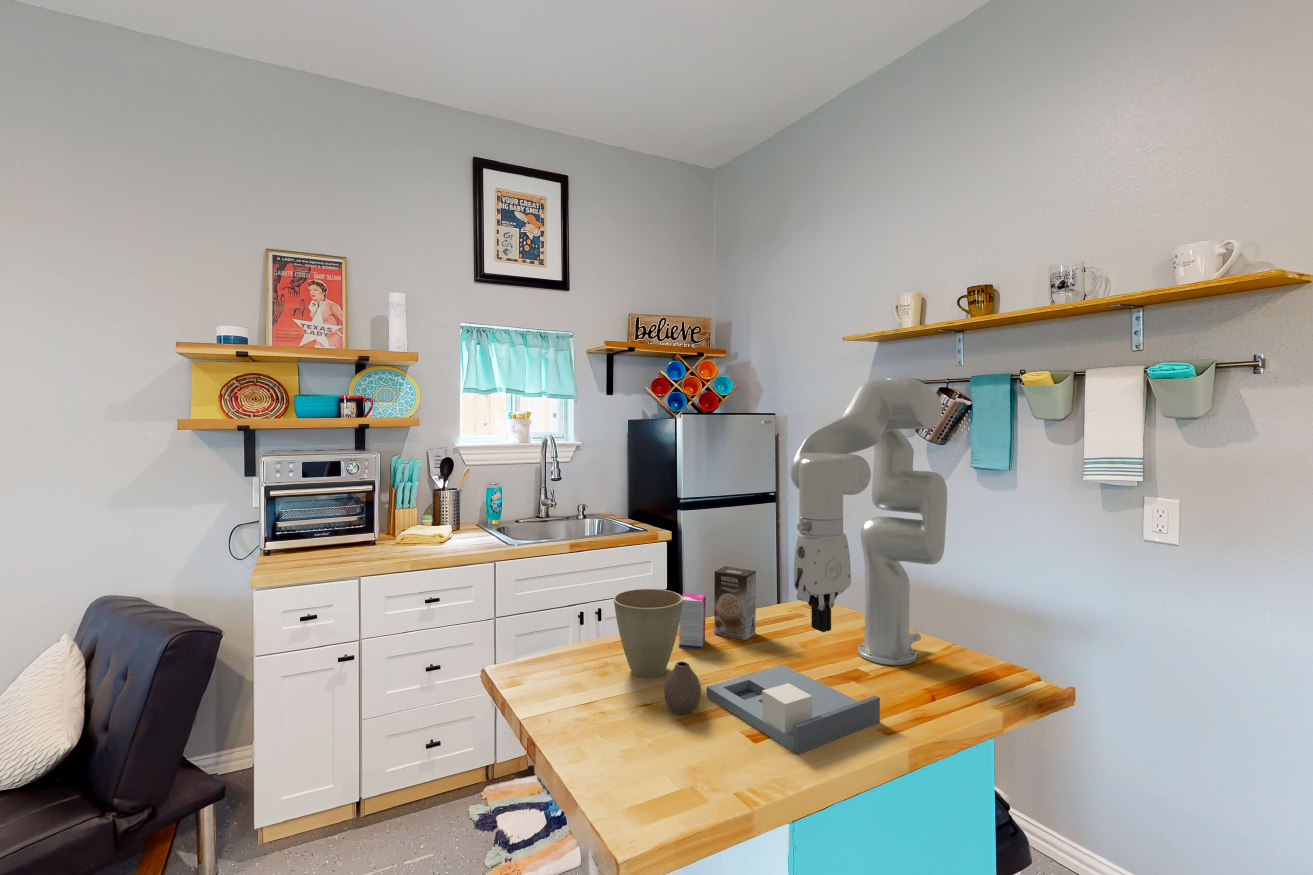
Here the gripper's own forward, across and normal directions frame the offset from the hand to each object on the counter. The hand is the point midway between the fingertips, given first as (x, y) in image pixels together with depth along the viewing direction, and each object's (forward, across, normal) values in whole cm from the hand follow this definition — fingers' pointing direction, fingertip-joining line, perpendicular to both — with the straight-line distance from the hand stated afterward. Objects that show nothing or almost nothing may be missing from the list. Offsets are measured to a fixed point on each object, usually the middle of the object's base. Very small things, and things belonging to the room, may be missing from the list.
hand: (821, 629), depth 113 cm
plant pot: (+17, -14, +36) cm, 43 cm away
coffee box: (+17, +16, +44) cm, 50 cm away
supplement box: (+17, +3, +44) cm, 48 cm away
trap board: (+17, -1, +7) cm, 18 cm away
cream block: (+15, -8, 0) cm, 17 cm away
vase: (+17, -18, +17) cm, 30 cm away
